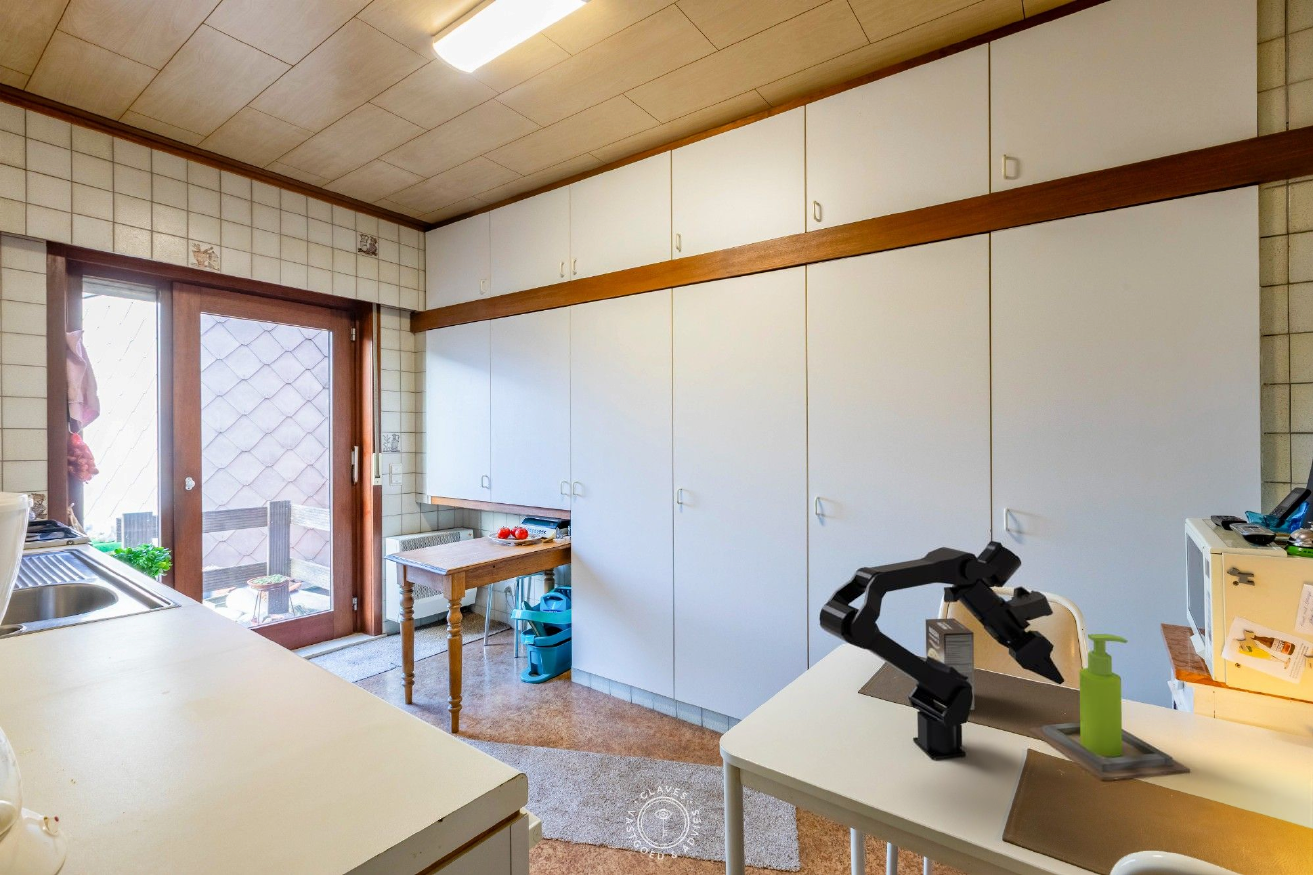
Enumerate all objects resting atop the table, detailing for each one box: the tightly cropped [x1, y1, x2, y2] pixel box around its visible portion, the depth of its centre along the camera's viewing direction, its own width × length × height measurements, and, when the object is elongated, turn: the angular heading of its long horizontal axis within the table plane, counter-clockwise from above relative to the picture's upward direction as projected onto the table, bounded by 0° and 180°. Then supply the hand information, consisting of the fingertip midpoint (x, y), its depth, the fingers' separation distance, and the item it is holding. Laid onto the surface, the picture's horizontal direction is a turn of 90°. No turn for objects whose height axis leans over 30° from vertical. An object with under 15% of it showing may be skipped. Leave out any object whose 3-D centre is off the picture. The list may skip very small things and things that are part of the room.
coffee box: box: [925, 617, 975, 711], centre depth 126 cm, size 9×6×16 cm
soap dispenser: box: [1078, 633, 1128, 757], centre depth 105 cm, size 6×7×20 cm
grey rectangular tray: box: [1028, 721, 1191, 781], centre depth 106 cm, size 16×16×2 cm
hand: (1051, 672), depth 107 cm, fingers open, 9 cm apart
